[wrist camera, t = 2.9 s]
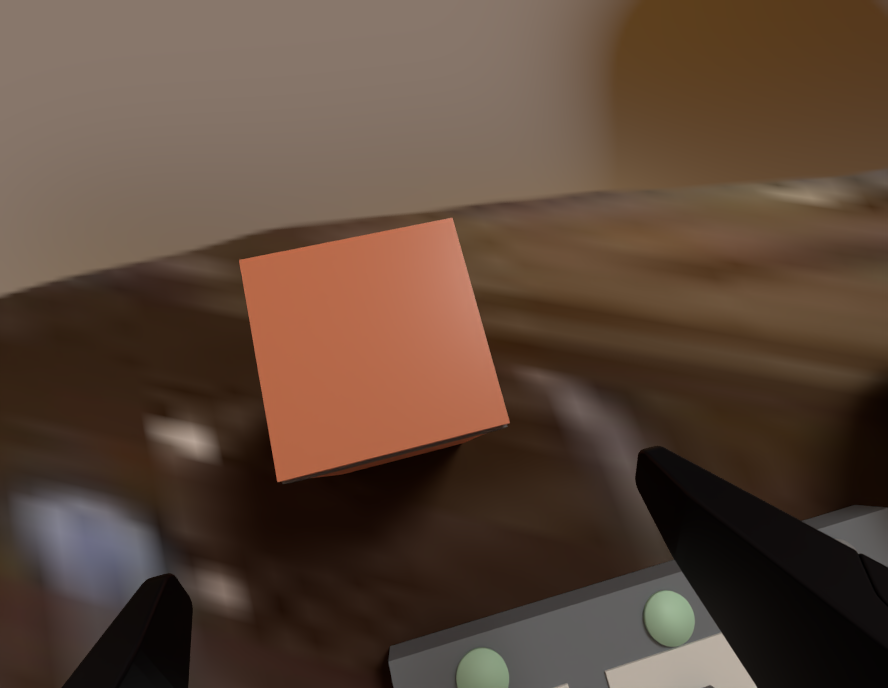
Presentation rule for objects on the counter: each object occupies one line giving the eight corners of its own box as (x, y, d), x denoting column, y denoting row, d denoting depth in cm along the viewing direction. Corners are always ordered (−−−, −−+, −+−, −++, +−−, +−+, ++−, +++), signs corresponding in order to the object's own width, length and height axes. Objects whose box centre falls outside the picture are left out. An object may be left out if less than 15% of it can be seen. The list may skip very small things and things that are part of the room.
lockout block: (340, 476, 20) (275, 485, 10) (316, 354, 21) (236, 258, 11) (463, 444, 20) (512, 424, 11) (433, 328, 22) (453, 215, 12)
